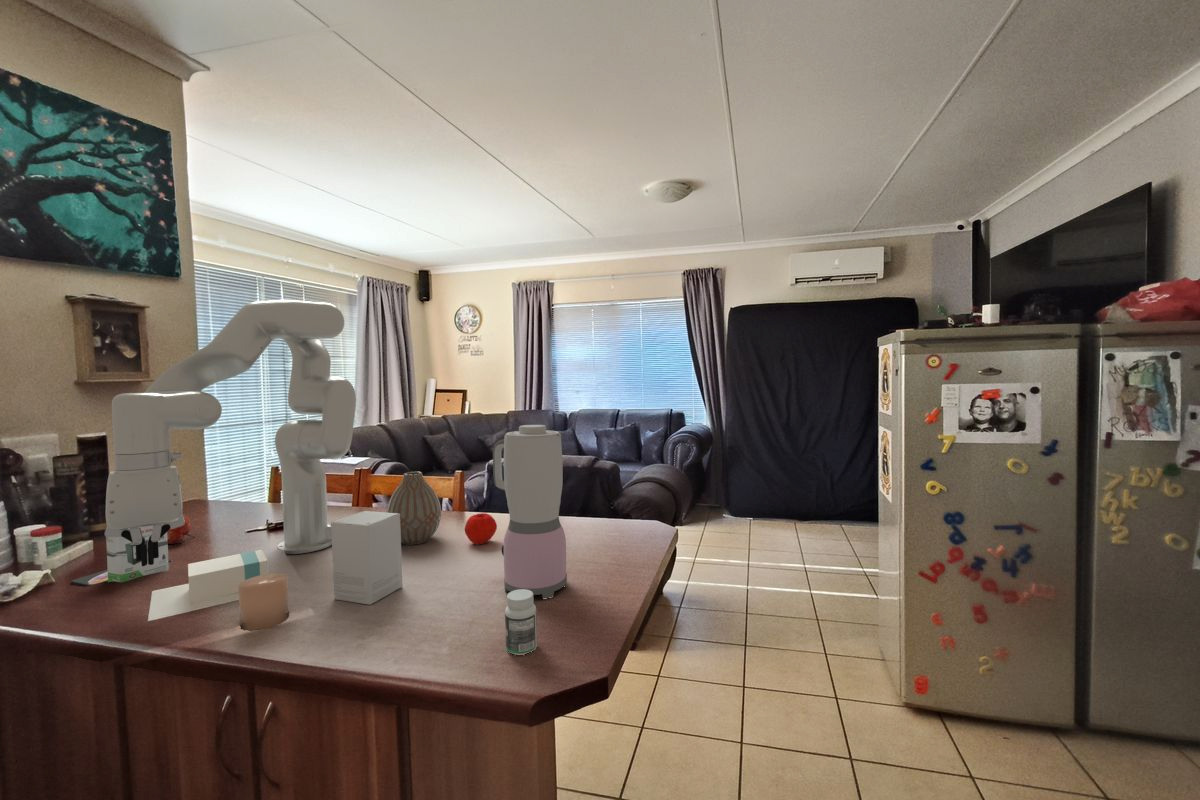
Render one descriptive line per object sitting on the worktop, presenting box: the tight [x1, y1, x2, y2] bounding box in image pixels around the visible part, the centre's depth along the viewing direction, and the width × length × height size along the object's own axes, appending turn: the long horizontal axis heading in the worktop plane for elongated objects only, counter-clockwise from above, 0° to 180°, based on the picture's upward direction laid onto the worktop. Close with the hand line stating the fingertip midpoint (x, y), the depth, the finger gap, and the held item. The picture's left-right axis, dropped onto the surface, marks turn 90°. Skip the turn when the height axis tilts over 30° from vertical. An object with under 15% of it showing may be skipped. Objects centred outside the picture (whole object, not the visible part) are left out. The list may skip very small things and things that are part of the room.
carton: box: [187, 549, 269, 604], centre depth 99 cm, size 5×8×12 cm
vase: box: [386, 471, 442, 546], centre depth 129 cm, size 13×13×18 cm
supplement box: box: [330, 510, 403, 605], centre depth 98 cm, size 9×9×15 cm
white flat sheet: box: [147, 582, 239, 622], centre depth 97 cm, size 17×16×1 cm
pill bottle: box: [504, 589, 538, 654], centre depth 77 cm, size 5×5×8 cm
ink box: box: [105, 524, 170, 583], centre depth 107 cm, size 9×5×12 cm, turn 158°
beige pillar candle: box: [238, 572, 290, 632], centre depth 87 cm, size 7×7×7 cm
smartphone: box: [70, 559, 172, 587], centre depth 111 cm, size 8×1×15 cm
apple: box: [464, 512, 498, 545], centre depth 127 cm, size 8×8×7 cm
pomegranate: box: [167, 514, 196, 545], centre depth 131 cm, size 7×7×10 cm
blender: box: [492, 424, 568, 598], centre depth 100 cm, size 16×12×32 cm
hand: (147, 563), depth 91 cm, fingers closed
